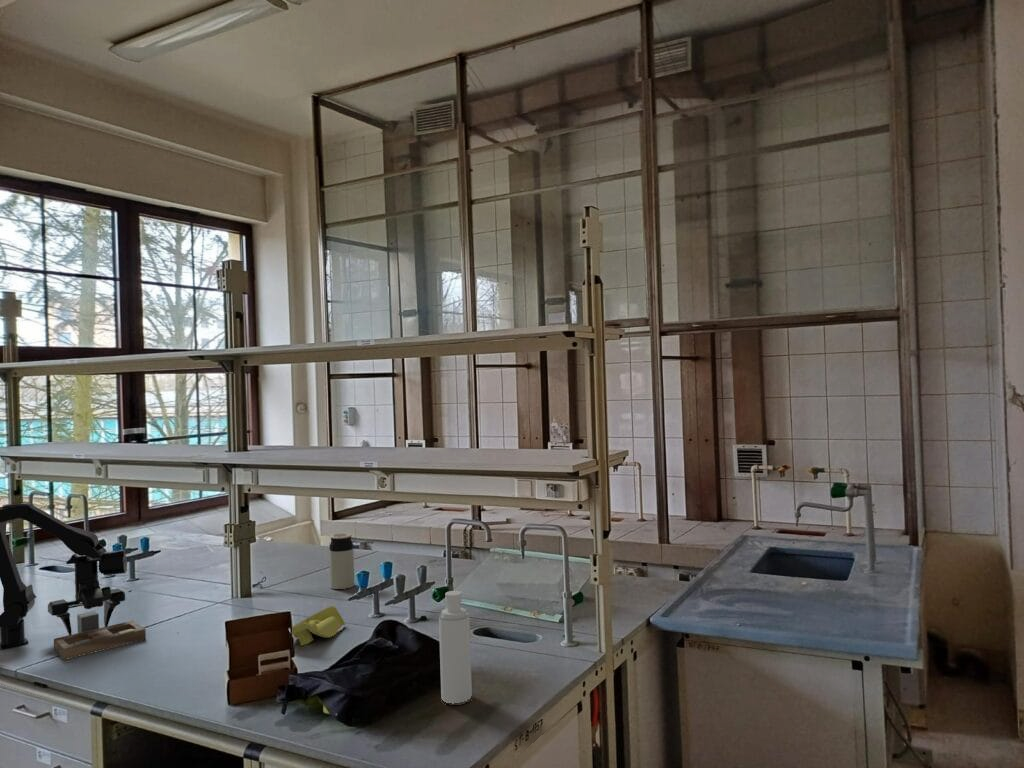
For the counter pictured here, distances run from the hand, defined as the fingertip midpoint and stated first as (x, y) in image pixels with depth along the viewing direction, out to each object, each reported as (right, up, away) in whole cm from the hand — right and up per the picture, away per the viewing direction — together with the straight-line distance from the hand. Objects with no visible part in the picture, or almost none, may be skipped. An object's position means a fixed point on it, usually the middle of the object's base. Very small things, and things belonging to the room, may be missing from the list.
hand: (88, 631), depth 212 cm
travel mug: (+64, +1, +42) cm, 76 cm away
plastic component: (+67, 0, -8) cm, 67 cm away
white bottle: (+110, +2, -51) cm, 121 cm away
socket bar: (+8, -1, -9) cm, 12 cm away
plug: (0, -1, 0) cm, 1 cm away
